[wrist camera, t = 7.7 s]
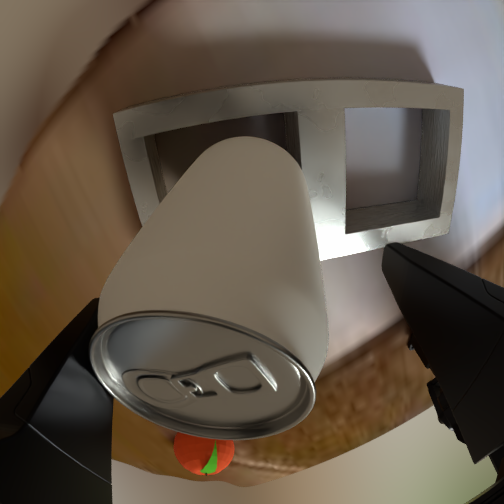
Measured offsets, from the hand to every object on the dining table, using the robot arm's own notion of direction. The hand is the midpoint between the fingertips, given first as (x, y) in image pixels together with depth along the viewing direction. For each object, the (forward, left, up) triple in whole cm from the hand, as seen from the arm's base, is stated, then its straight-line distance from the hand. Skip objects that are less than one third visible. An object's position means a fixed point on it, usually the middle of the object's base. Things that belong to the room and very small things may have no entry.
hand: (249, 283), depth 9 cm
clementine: (+7, +28, -11) cm, 31 cm away
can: (-1, +1, -9) cm, 9 cm away
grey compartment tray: (-5, 0, -11) cm, 12 cm away
